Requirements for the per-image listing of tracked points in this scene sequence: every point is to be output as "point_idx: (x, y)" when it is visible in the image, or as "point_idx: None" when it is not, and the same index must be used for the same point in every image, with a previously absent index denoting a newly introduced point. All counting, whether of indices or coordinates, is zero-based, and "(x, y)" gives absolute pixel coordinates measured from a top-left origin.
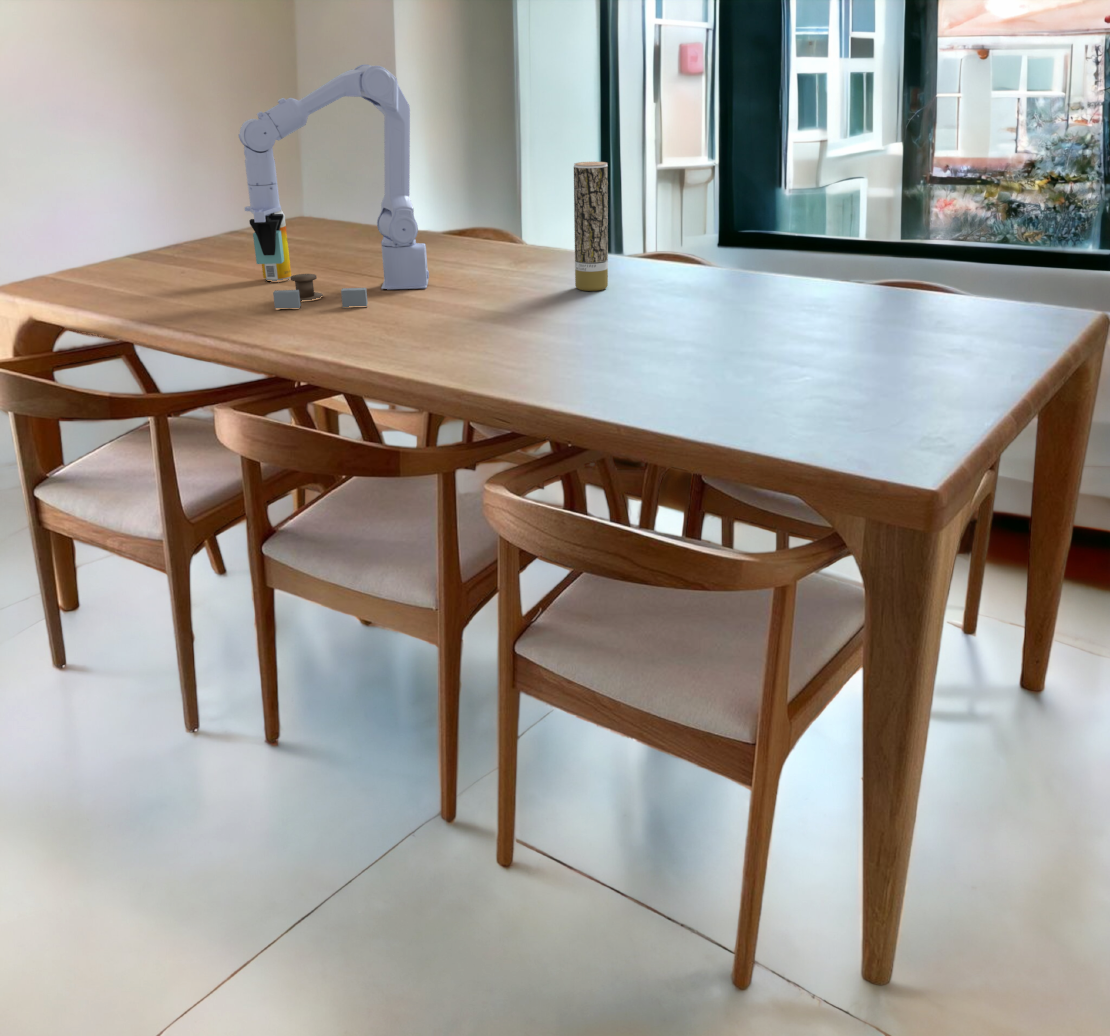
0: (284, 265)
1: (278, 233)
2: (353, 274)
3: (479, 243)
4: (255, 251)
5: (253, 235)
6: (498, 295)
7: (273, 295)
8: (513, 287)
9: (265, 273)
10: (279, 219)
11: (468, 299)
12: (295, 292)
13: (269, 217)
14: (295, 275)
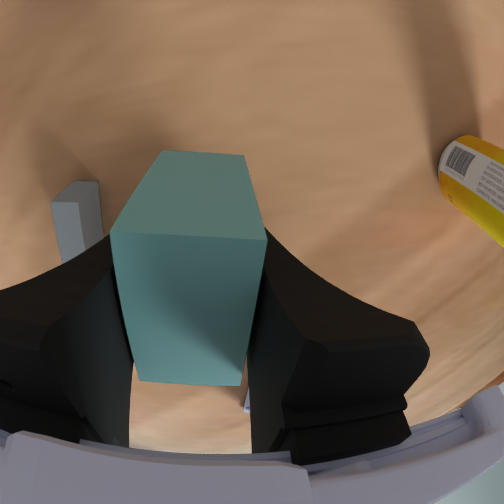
0: (462, 206)
1: (144, 378)
2: (422, 313)
3: (467, 393)
4: (145, 174)
5: (115, 225)
6: (187, 445)
7: (54, 198)
8: (228, 451)
9: (464, 144)
10: (254, 449)
11: (167, 431)
12: (63, 261)
13: (267, 439)
14: None
